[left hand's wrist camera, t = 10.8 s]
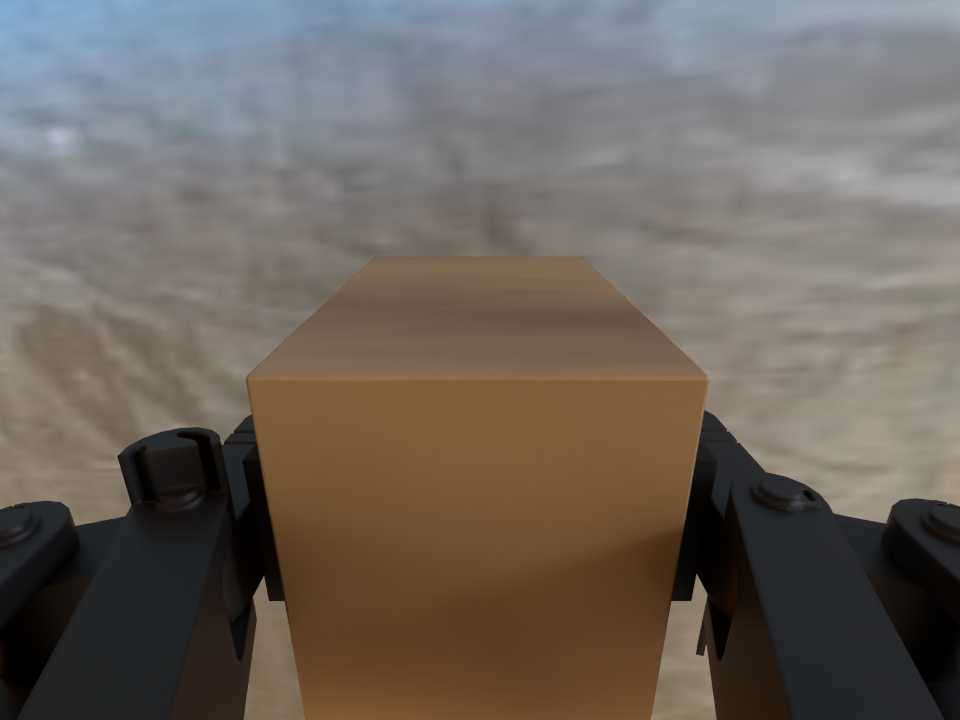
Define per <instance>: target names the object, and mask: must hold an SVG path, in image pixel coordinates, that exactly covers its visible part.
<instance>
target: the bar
mask: <svg viewBox="0 0 960 720" xmlns="http://www.w3.org/2000/svg"><path fill="white" fill-rule="evenodd" d="M246 383H247V389H248V394H249V400H250V406H251V411H252V417H253V423H254V428H255V434H256V440H257V446H258V451H259V457H260V463H261V468H262V474H263V480H264V485H265V491H266V497H267V502H268V508H269V514H270V520H271V525H272V531H273V537H274V542H275V548H276V554H277V559H278V565H279V571H280V576H281V582H282V588H283V594H284V599H285V605H286V611H287V616H288V622H289V628H290V633H291V639H292V645H293V650H294V656H295V662H296V668H297V673H298V679H299V685H300V690H301V696H302V702H303V707H304V713H305V719H306V720H651V715H652V709H653V703H654V697H655V692H656V686H657V680H658V674H659V669H660V663H661V657H662V651H663V645H664V640H665V634H666V628H667V622H668V617H669V611H670V605H671V599H672V593H673V588H674V582H675V576H676V570H677V565H678V559H679V553H680V547H681V541H682V536H683V530H684V524H685V518H686V513H687V507H688V501H689V495H690V490H691V484H692V478H693V472H694V466H695V461H696V455H697V449H698V443H699V438H700V432H701V426H702V420H703V414H704V409H705V403H706V397H707V391H708V386H709V376H708V375H707V374H706V373H705V372H704V371H702V370H701V369H700V368H699V367H698V366H697V365H696V364H695V363H694V362H693V361H692V360H691V359H690V358H689V357H688V356H687V355H686V354H685V353H683V352H682V351H681V350H680V349H679V348H678V347H677V346H676V345H675V344H674V343H673V342H672V341H671V340H670V339H669V338H668V337H667V336H666V335H664V334H663V333H662V332H661V331H660V330H659V329H658V328H657V327H656V326H655V325H654V324H653V323H652V322H651V321H650V320H649V319H648V318H647V317H645V316H644V315H643V314H642V313H641V312H640V311H639V310H638V309H637V308H636V307H635V306H634V305H633V304H632V303H631V302H630V301H629V300H628V299H627V298H625V297H624V296H623V295H622V294H621V293H620V292H619V291H618V290H617V289H616V288H615V287H614V286H613V285H612V284H611V283H610V282H609V281H608V280H606V279H605V278H604V277H603V276H602V275H601V274H600V273H599V272H598V271H597V270H596V269H595V268H594V267H593V266H592V265H591V264H590V263H589V262H587V261H586V260H585V259H584V258H583V257H375V258H374V259H373V260H372V261H370V262H369V263H368V264H367V265H366V266H365V267H364V268H363V269H362V270H361V271H360V272H359V273H357V274H356V275H355V276H354V277H353V278H352V279H351V280H350V281H349V282H348V283H347V284H346V285H345V286H343V287H342V288H341V289H340V290H339V291H338V292H337V293H336V294H335V295H334V296H333V297H332V298H331V299H329V300H328V301H327V302H326V303H325V304H324V305H323V306H322V307H321V308H320V309H319V310H318V311H316V312H315V313H314V314H313V315H312V316H311V317H310V318H309V319H308V320H307V321H306V322H305V323H304V324H302V325H301V326H300V327H299V328H298V329H297V330H296V331H295V332H294V333H293V334H292V335H291V336H290V337H288V338H287V339H286V340H285V341H284V342H283V343H282V344H281V345H280V346H279V347H278V348H277V349H275V350H274V351H273V352H272V353H271V354H270V355H269V356H268V357H267V358H266V359H265V360H264V361H263V362H261V363H260V364H259V365H258V366H257V367H256V368H255V369H254V370H253V371H252V372H251V373H250V374H249V375H247V378H246Z"/></svg>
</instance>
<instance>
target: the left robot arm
mask: <svg viewBox="0 0 960 720" xmlns="http://www.w3.org/2000/svg"><path fill="white" fill-rule="evenodd" d="M117 457H118V460H119V463H120V467H121V470H122V474H123V477H124V481H125V484H126V487H127V491H128V494H129V498H130V501H131V504H132V506H131V507H130V509H129V511H128V513H127V515H126V516H124V517H120V518H115V519H110V520H105V521H100V522H94V523H89V524H84V525H79V526H75V524H74V521H73V519H72V516H71V513H70V510H69V508H68V507H67V506H65V505H64V504H62V503H61V502H52V501H40V502H32V503H22V504H17V505H15V506H14V507H12V506H10V507H7V508H3V509H1V510H0V720H243V719H244V711H245V704H246V696H247V689H248V681H249V674H250V666H251V659H252V652H253V644H254V637H255V629H256V622H257V618H256V611H255V606H254V601H253V596H254V594H255V592H256V590H257V588H258V586H259V584H260V582H261V580H262V578H263V576H264V577H265V582H266V587H267V592H268V597H269V601H285V599H284V594H283V588H282V582H281V576H280V571H279V565H278V559H277V554H276V548H275V542H274V537H273V531H272V525H271V520H270V514H269V508H268V502H267V497H266V491H265V485H264V480H263V474H262V468H261V463H260V457H259V451H258V446H257V440H256V434H255V428H254V423H253V417H252V415H250V416H248V417H246V418H245V419H244V420H243V421H242V423H241V424H240V425H239V426H238V427H237V428H236V429H235V430H234V434H231V435H230V436H229V437H228V438H227V439H226V440H225V441H224V445H221V442H220V437H219V435H218V434H217V433H215V432H214V431H212V430H210V429H204V428H199V427H195V428H179V429H173V430H168V431H163V432H160V433H157V434H154V435H151V436H148V437H145V438H143V439H141V440H139V441H137V442H135V443H134V444H132V445H130V446H128V447H127V448H126V449H125V450H124V451H122V452H121V453H120V454H119V455H118V456H117ZM696 574H697V575H698V577H699V579H700V580H701V582H702V584H703V586H704V588H705V590H706V592H707V594H708V596H707V601H706V606H705V610H704V615H703V620H702V625H701V630H700V634H699V639H698V645H697V651H696V654H697V655H701V656H704V651H705V646H706V644H707V650H708V658H709V665H710V673H711V680H712V688H713V695H714V702H715V710H716V717H717V720H960V506H956V505H953V504H947V503H946V502H942V501H937V500H925V499H917V498H914V499H905V500H900V501H899V502H897V503H896V504H894V505H893V506H892V509H891V511H890V514H889V517H888V520H887V523H886V524H884V523H879V522H874V521H868V520H863V519H858V518H852V517H847V516H842V515H838V514H834V513H833V512H832V510H831V508H830V506H829V505H828V503H827V502H826V501H825V500H824V499H823V498H822V496H821V495H820V494H819V493H817V492H816V491H814V490H813V489H811V488H809V487H808V486H806V485H805V484H803V483H800V482H798V481H795V480H793V479H790V478H788V477H784V476H780V475H776V474H772V473H766V472H765V471H764V470H763V468H762V467H761V466H760V465H759V464H758V463H757V462H756V461H755V460H754V459H753V457H752V456H751V455H750V454H749V453H748V452H747V451H746V450H745V449H744V448H743V446H742V445H741V444H740V443H737V440H736V439H735V438H734V437H733V435H732V434H731V433H730V432H727V429H726V428H725V427H724V425H723V424H722V423H721V422H720V421H719V420H718V419H717V418H716V417H715V416H714V415H712V414H710V413H709V412H707V411H705V410H704V414H703V420H702V426H701V432H700V438H699V443H698V449H697V455H696V461H695V466H694V472H693V478H692V484H691V490H690V495H689V501H688V507H687V513H686V518H685V524H684V530H683V536H682V541H681V547H680V553H679V559H678V565H677V570H676V576H675V582H674V588H673V593H672V599H671V601H691V599H692V594H693V589H694V584H695V579H696Z"/></svg>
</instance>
